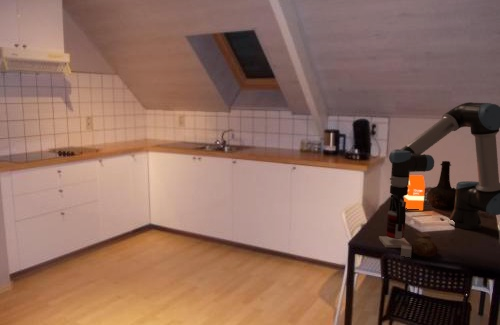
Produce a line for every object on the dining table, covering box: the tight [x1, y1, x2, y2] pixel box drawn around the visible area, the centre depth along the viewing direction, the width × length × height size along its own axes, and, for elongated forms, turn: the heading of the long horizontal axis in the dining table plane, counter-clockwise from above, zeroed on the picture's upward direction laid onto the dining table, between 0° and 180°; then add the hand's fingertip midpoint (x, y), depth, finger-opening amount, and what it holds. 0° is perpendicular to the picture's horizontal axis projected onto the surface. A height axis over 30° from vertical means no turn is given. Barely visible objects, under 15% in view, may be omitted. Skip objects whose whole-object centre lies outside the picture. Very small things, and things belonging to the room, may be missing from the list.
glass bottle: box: [426, 160, 456, 210], centre depth 255 cm, size 18×18×28 cm
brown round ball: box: [413, 231, 432, 242], centre depth 193 cm, size 5×5×5 cm
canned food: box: [385, 210, 407, 239], centre depth 193 cm, size 8×8×11 cm
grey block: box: [400, 245, 412, 259], centre depth 180 cm, size 4×4×4 cm
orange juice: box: [403, 174, 426, 211], centre depth 252 cm, size 8×9×20 cm
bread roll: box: [411, 238, 438, 258], centre depth 184 cm, size 10×10×8 cm
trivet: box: [378, 235, 412, 249], centre depth 195 cm, size 11×11×1 cm
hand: (395, 234), depth 194 cm, fingers closed on canned food, 8 cm apart
